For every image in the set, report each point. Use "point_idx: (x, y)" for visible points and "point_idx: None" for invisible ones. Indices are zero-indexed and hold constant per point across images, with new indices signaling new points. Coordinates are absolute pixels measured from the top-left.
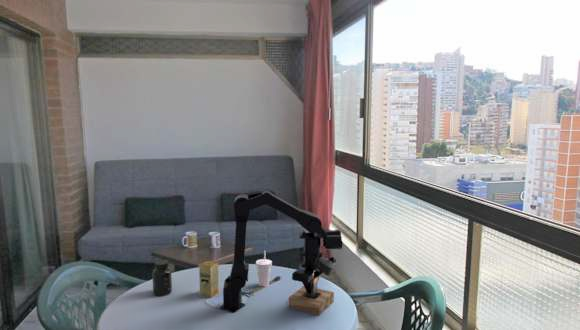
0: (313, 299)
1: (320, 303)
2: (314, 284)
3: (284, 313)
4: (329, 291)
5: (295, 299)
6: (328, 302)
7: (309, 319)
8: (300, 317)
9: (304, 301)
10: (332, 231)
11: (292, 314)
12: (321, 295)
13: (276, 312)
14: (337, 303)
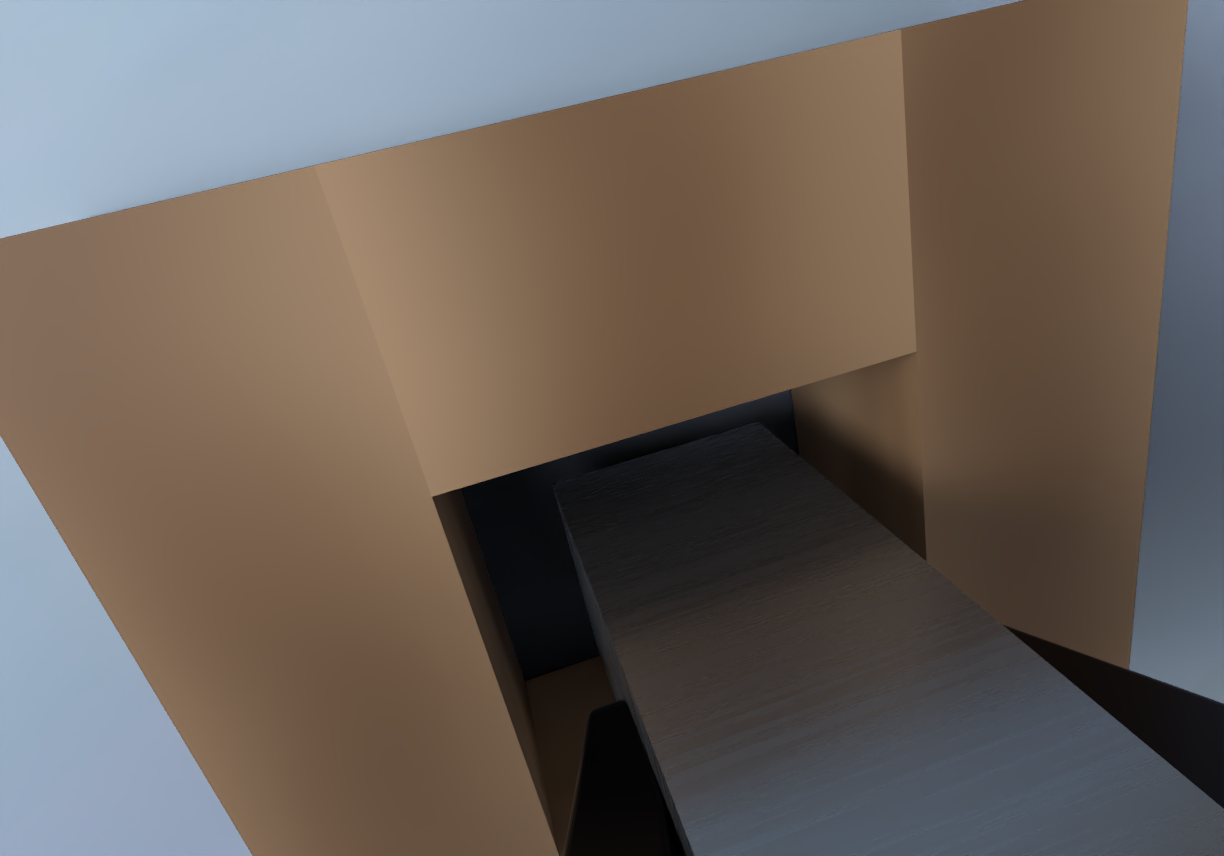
0: (937, 386)
1: (1062, 29)
2: (1088, 820)
3: (1173, 543)
4: (37, 436)
5: (1124, 663)
6: (460, 131)
7: (1194, 73)
8: (1190, 266)
9: (1145, 462)
10: None
11: (1153, 439)
12: (556, 408)
13: (1191, 634)
14: (73, 41)
